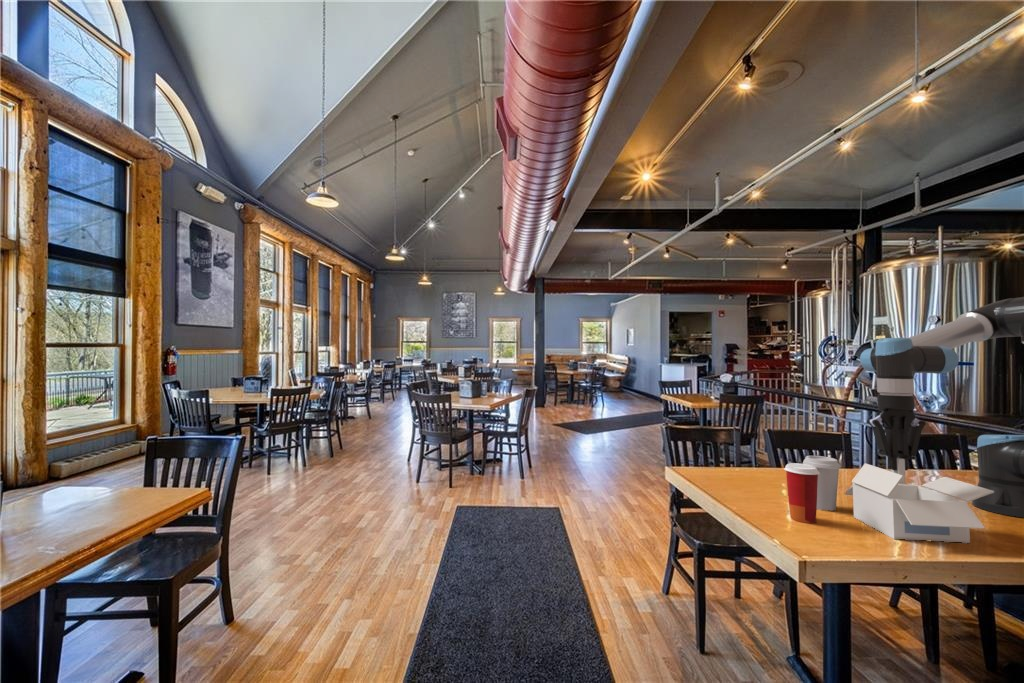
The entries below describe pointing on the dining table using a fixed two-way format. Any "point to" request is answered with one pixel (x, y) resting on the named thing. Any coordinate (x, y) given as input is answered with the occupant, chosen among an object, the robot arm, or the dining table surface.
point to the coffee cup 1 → (802, 491)
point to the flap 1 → (877, 479)
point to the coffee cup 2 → (825, 480)
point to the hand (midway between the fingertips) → (898, 482)
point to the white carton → (914, 513)
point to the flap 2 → (957, 489)
